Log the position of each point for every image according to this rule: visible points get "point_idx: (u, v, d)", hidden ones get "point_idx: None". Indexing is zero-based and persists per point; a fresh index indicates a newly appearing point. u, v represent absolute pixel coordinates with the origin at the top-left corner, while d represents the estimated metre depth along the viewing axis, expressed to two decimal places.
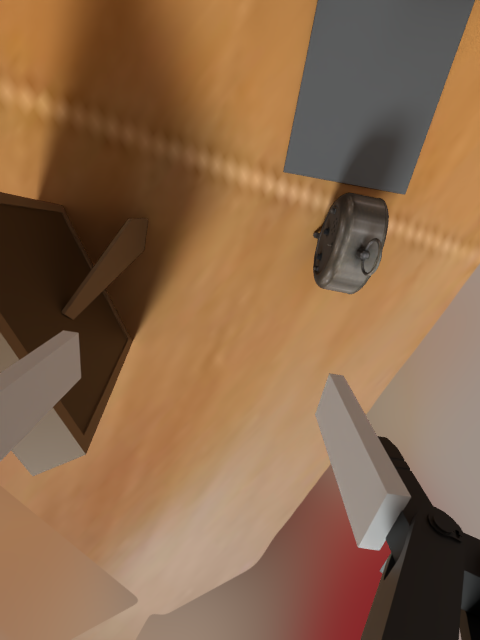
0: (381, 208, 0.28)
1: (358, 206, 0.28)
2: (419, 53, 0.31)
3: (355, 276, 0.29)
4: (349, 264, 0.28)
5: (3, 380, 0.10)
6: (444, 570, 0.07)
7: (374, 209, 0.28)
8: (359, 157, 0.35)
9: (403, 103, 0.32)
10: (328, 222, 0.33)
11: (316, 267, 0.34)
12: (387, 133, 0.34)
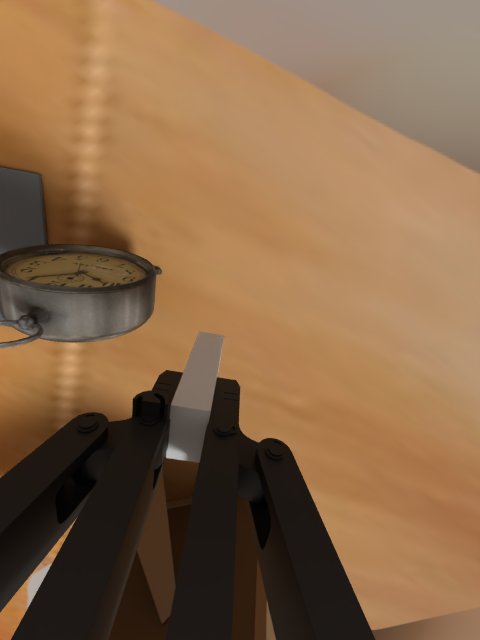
0: None
1: None
2: None
3: (85, 309, 0.18)
4: (63, 325, 0.18)
5: (193, 372, 0.12)
6: (226, 461, 0.09)
7: None
8: (14, 247, 0.28)
9: None
10: None
11: None
12: None
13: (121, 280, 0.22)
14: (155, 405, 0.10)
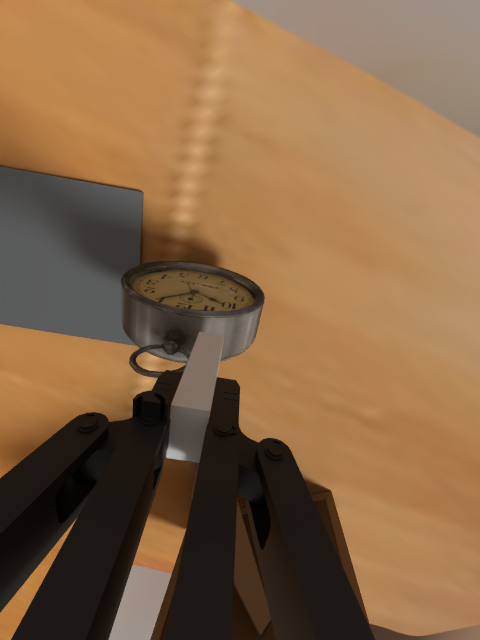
0: (123, 294, 0.19)
1: (125, 327, 0.20)
2: None
3: (217, 332, 0.18)
4: None
5: (193, 372, 0.12)
6: (226, 461, 0.09)
7: (125, 306, 0.19)
8: (109, 263, 0.28)
9: (44, 218, 0.27)
10: None
11: None
12: (78, 233, 0.27)
13: (234, 300, 0.22)
14: (155, 405, 0.10)
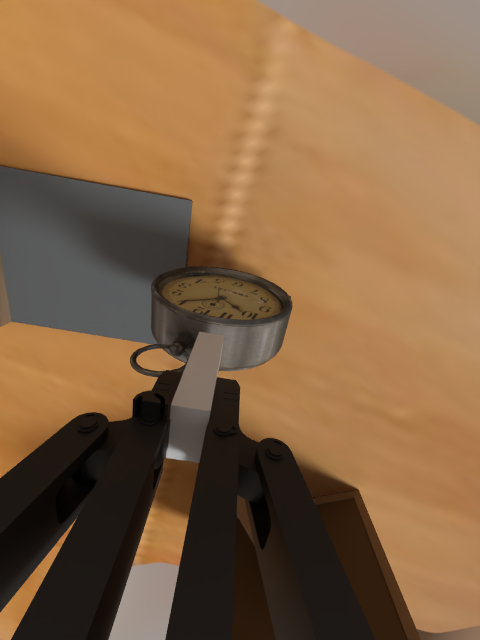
0: (151, 294, 0.21)
1: (151, 324, 0.21)
2: (48, 217, 0.27)
3: (226, 340, 0.18)
4: None
5: (193, 372, 0.12)
6: (226, 461, 0.09)
7: (151, 305, 0.21)
8: (155, 268, 0.29)
9: (95, 226, 0.28)
10: None
11: None
12: (127, 240, 0.28)
13: (258, 310, 0.21)
14: (155, 405, 0.10)
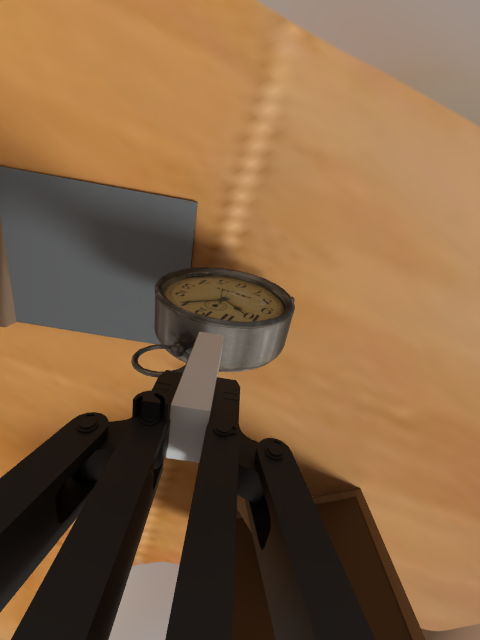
0: None
1: (154, 324, 0.22)
2: (54, 218, 0.28)
3: (227, 342, 0.18)
4: None
5: (193, 372, 0.12)
6: (226, 461, 0.09)
7: None
8: (160, 269, 0.29)
9: (101, 227, 0.28)
10: None
11: None
12: (132, 240, 0.28)
13: (259, 312, 0.21)
14: (155, 405, 0.10)
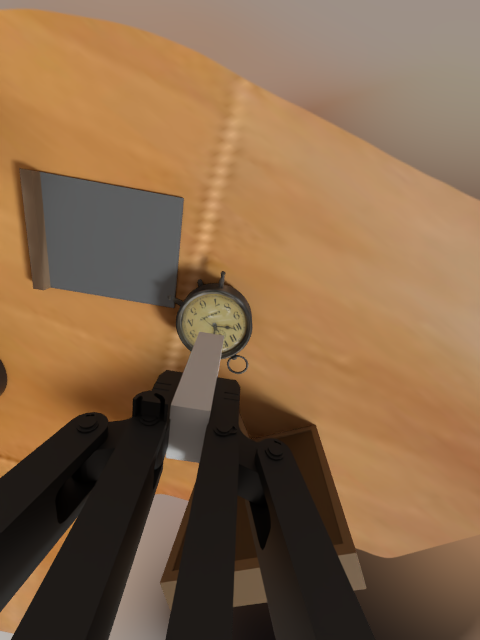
0: None
1: None
2: (82, 210, 0.39)
3: None
4: None
5: (193, 372, 0.12)
6: (226, 461, 0.09)
7: None
8: (157, 247, 0.40)
9: (115, 216, 0.39)
10: None
11: None
12: (137, 226, 0.39)
13: (236, 320, 0.40)
14: (155, 405, 0.10)
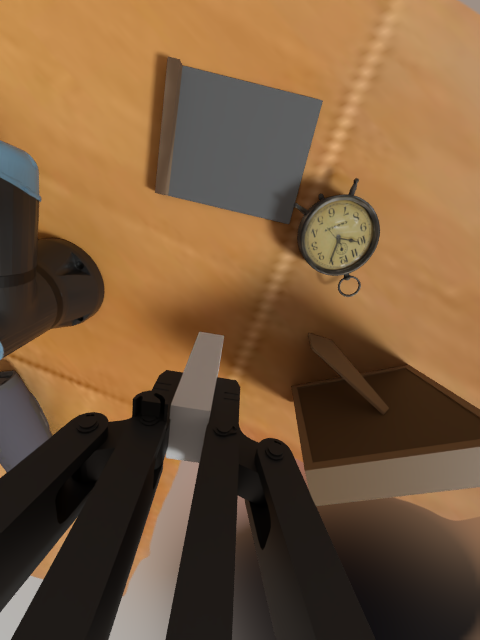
0: (314, 268, 0.42)
1: None
2: (216, 110, 0.38)
3: None
4: None
5: (193, 372, 0.12)
6: (226, 461, 0.09)
7: None
8: (286, 154, 0.40)
9: (249, 118, 0.38)
10: None
11: None
12: (270, 130, 0.39)
13: (361, 232, 0.39)
14: (155, 405, 0.10)
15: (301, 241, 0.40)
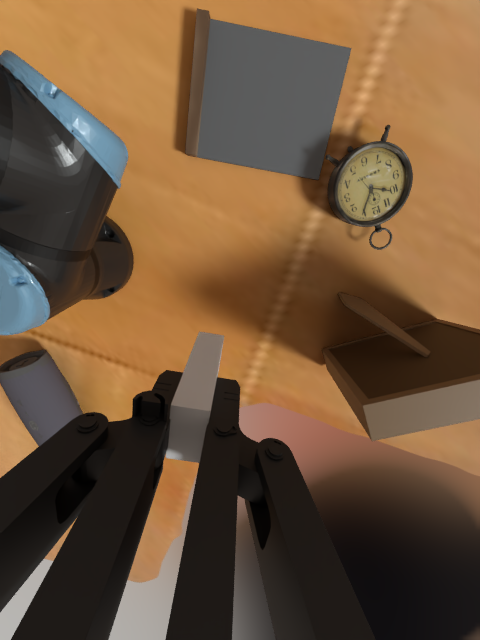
0: (347, 221, 0.42)
1: (344, 221, 0.44)
2: (245, 64, 0.38)
3: None
4: None
5: (193, 372, 0.12)
6: (226, 461, 0.09)
7: (348, 222, 0.43)
8: (314, 107, 0.40)
9: (278, 70, 0.38)
10: None
11: None
12: (298, 82, 0.39)
13: (394, 180, 0.40)
14: (155, 405, 0.10)
15: (334, 192, 0.40)
